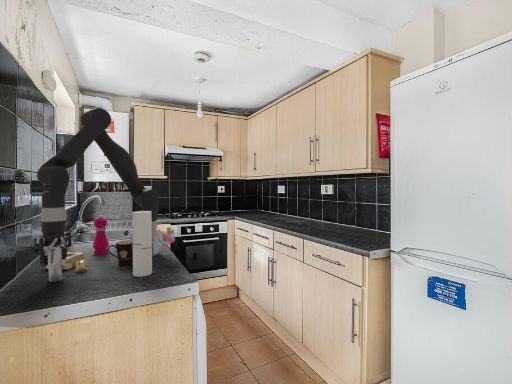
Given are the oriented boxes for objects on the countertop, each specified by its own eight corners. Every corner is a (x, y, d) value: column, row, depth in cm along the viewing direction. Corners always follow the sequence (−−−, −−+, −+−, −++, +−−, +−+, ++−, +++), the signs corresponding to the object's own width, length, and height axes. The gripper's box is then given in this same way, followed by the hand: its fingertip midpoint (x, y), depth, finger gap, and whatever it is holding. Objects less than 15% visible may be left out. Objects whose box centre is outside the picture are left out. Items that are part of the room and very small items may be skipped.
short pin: (89, 269, 115) (89, 260, 115) (82, 272, 111) (82, 262, 111) (80, 269, 116) (80, 259, 116) (73, 272, 112) (73, 262, 112)
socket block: (84, 262, 125) (84, 252, 125) (67, 269, 115) (67, 258, 115) (64, 261, 126) (63, 252, 126) (45, 268, 116) (45, 258, 116)
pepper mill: (101, 255, 137) (101, 215, 136) (89, 254, 139) (88, 215, 138) (112, 251, 144) (111, 214, 143) (100, 251, 146) (99, 213, 145)
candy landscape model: (144, 238, 180) (144, 224, 179) (179, 239, 179) (179, 225, 179) (124, 247, 155) (124, 231, 155) (165, 248, 154) (165, 232, 154)
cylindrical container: (136, 270, 114) (135, 211, 113) (154, 270, 114) (153, 210, 113) (130, 276, 106) (129, 213, 106) (149, 276, 107) (148, 212, 106)
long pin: (64, 278, 105) (64, 247, 104) (56, 282, 101) (55, 249, 100) (54, 277, 105) (54, 247, 105) (46, 281, 101) (45, 249, 101)
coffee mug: (141, 262, 126) (141, 240, 125) (126, 267, 118) (126, 244, 117) (121, 259, 130) (121, 239, 129) (106, 265, 121) (105, 242, 121)
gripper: (46, 222, 95) (47, 268, 95) (77, 217, 109) (77, 257, 109) (26, 221, 95) (27, 267, 96) (59, 216, 109) (60, 257, 110)
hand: (54, 262), depth 103 cm, fingers open, 8 cm apart
